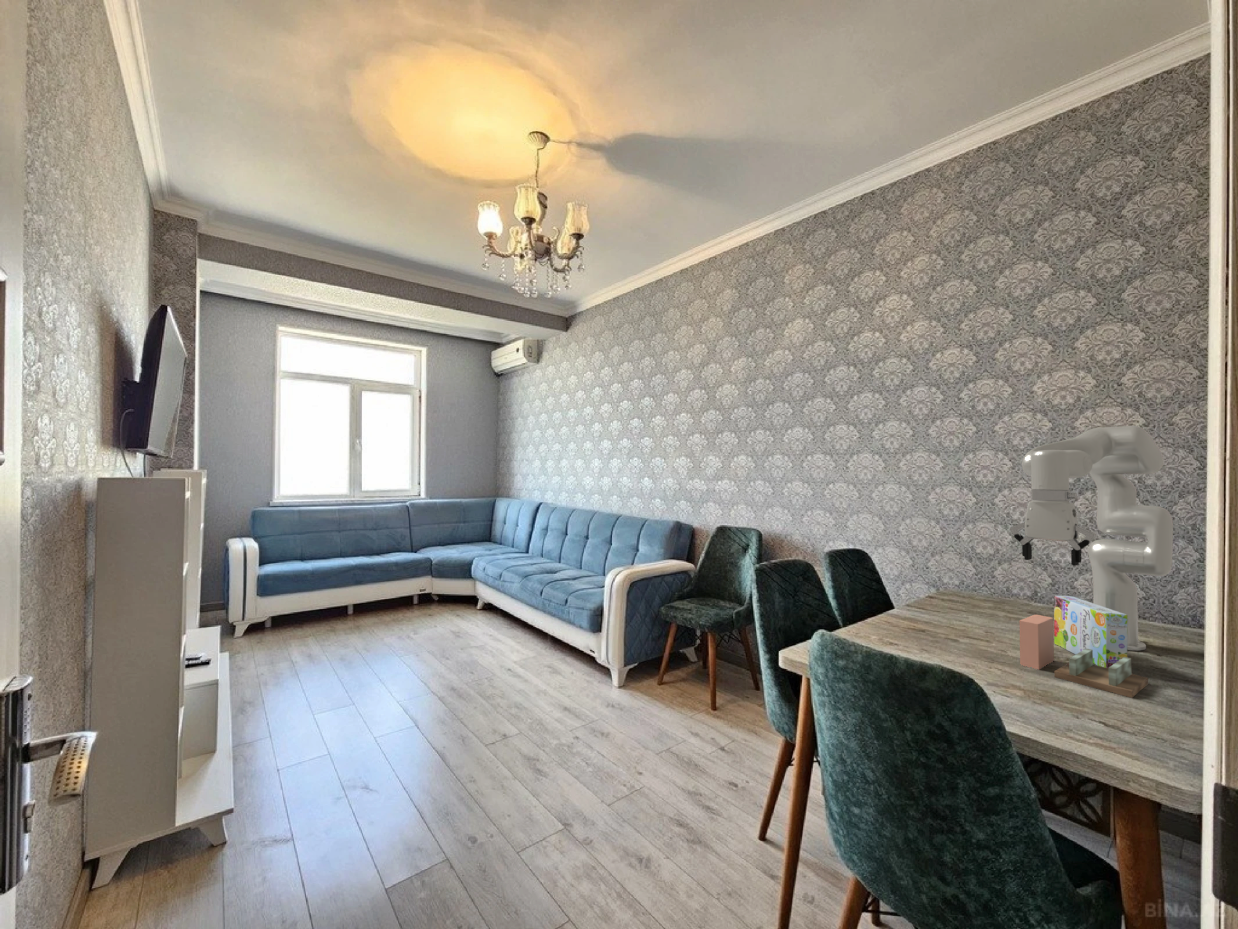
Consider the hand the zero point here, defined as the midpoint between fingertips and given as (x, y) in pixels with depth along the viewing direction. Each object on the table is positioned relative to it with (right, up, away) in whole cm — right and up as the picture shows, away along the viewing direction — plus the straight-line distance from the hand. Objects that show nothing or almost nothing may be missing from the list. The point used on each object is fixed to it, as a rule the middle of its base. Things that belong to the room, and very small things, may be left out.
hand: (1050, 562), depth 130 cm
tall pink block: (+1, -29, +6) cm, 29 cm away
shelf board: (+7, -29, -6) cm, 30 cm away
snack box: (+20, -29, +10) cm, 37 cm away
